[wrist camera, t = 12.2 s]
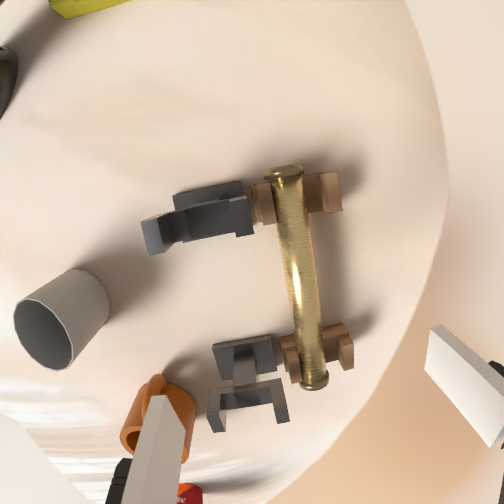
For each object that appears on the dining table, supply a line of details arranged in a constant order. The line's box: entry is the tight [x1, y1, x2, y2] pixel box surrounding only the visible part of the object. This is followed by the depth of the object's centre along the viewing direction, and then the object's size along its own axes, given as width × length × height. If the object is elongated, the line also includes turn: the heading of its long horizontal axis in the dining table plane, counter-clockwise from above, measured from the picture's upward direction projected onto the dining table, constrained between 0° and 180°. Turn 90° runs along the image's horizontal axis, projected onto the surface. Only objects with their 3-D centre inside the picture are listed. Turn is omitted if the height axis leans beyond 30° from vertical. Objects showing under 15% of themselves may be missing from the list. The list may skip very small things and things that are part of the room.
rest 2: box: [279, 323, 354, 384], centre depth 32 cm, size 4×8×5 cm, turn 101°
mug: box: [120, 374, 196, 464], centre depth 31 cm, size 9×12×9 cm
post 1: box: [141, 181, 254, 255], centre depth 24 cm, size 5×7×11 cm
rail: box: [263, 164, 329, 391], centre depth 28 cm, size 24×4×4 cm
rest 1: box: [251, 172, 343, 225], centre depth 27 cm, size 4×8×5 cm, turn 101°
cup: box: [13, 269, 110, 371], centre depth 26 cm, size 8×8×10 cm
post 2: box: [207, 335, 290, 433], centre depth 28 cm, size 5×7×11 cm
